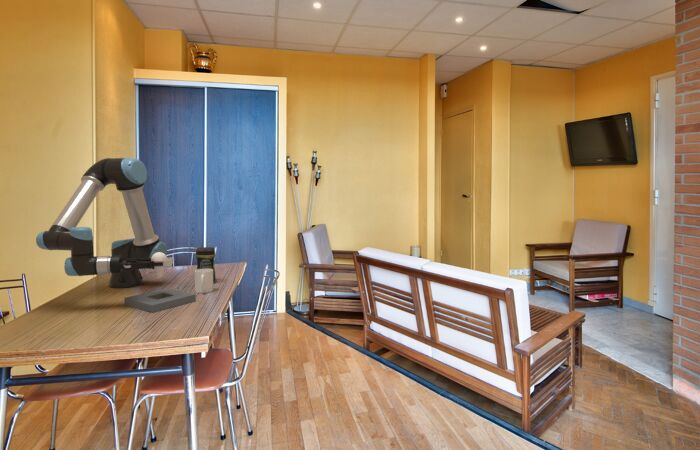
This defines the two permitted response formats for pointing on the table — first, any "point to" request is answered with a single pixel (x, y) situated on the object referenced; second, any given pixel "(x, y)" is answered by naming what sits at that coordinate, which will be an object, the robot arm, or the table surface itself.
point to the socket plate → (159, 300)
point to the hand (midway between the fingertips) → (172, 261)
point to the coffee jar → (206, 259)
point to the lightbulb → (158, 257)
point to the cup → (203, 280)
